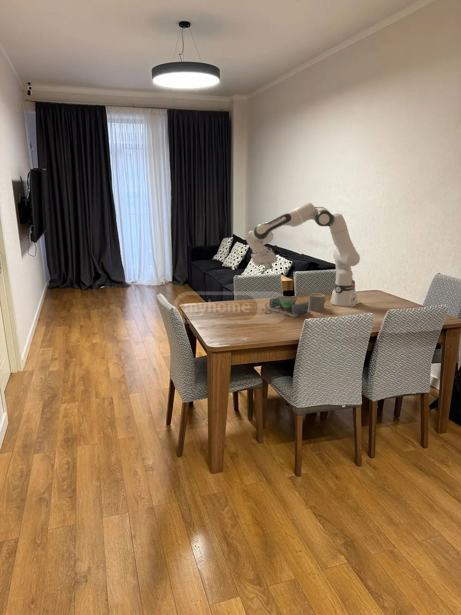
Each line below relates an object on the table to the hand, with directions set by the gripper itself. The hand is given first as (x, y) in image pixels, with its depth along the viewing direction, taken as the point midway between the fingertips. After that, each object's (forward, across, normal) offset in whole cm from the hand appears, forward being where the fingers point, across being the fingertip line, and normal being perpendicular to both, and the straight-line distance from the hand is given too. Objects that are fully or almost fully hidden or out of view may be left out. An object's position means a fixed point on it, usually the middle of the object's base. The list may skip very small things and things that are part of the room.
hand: (270, 268), depth 294 cm
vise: (+30, 0, +6) cm, 31 cm away
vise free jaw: (+23, 0, +11) cm, 25 cm away
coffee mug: (+38, +19, -1) cm, 42 cm away
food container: (+31, -2, +5) cm, 32 cm away
